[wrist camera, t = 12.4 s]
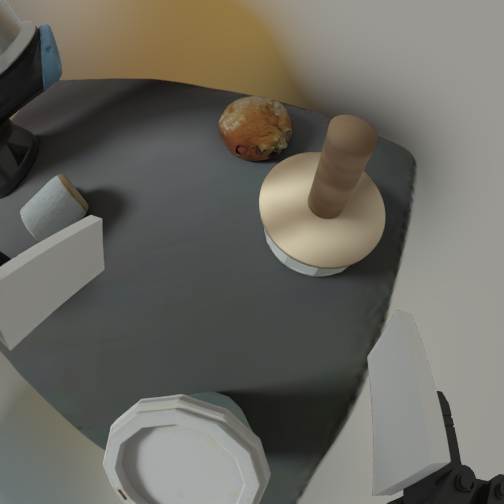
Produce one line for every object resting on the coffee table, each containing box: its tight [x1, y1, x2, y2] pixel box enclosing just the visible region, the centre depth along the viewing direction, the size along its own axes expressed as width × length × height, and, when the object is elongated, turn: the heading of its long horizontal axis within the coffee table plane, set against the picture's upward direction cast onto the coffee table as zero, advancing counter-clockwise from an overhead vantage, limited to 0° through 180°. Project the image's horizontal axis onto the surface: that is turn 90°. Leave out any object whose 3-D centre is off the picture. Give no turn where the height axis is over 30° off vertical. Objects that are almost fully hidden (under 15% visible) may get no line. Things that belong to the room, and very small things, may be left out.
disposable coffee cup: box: [103, 391, 271, 504], centre depth 18 cm, size 11×11×15 cm
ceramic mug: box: [20, 174, 88, 242], centre depth 30 cm, size 11×8×8 cm
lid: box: [259, 115, 385, 269], centre depth 22 cm, size 13×13×11 cm
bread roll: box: [219, 96, 293, 161], centre depth 35 cm, size 10×10×8 cm
